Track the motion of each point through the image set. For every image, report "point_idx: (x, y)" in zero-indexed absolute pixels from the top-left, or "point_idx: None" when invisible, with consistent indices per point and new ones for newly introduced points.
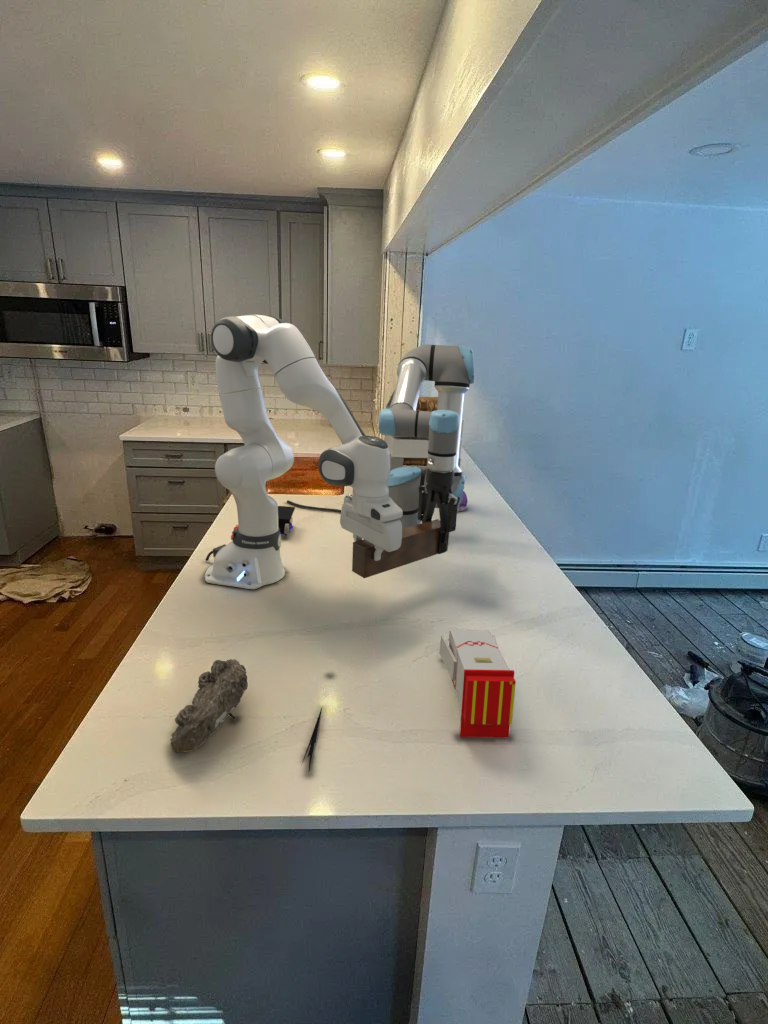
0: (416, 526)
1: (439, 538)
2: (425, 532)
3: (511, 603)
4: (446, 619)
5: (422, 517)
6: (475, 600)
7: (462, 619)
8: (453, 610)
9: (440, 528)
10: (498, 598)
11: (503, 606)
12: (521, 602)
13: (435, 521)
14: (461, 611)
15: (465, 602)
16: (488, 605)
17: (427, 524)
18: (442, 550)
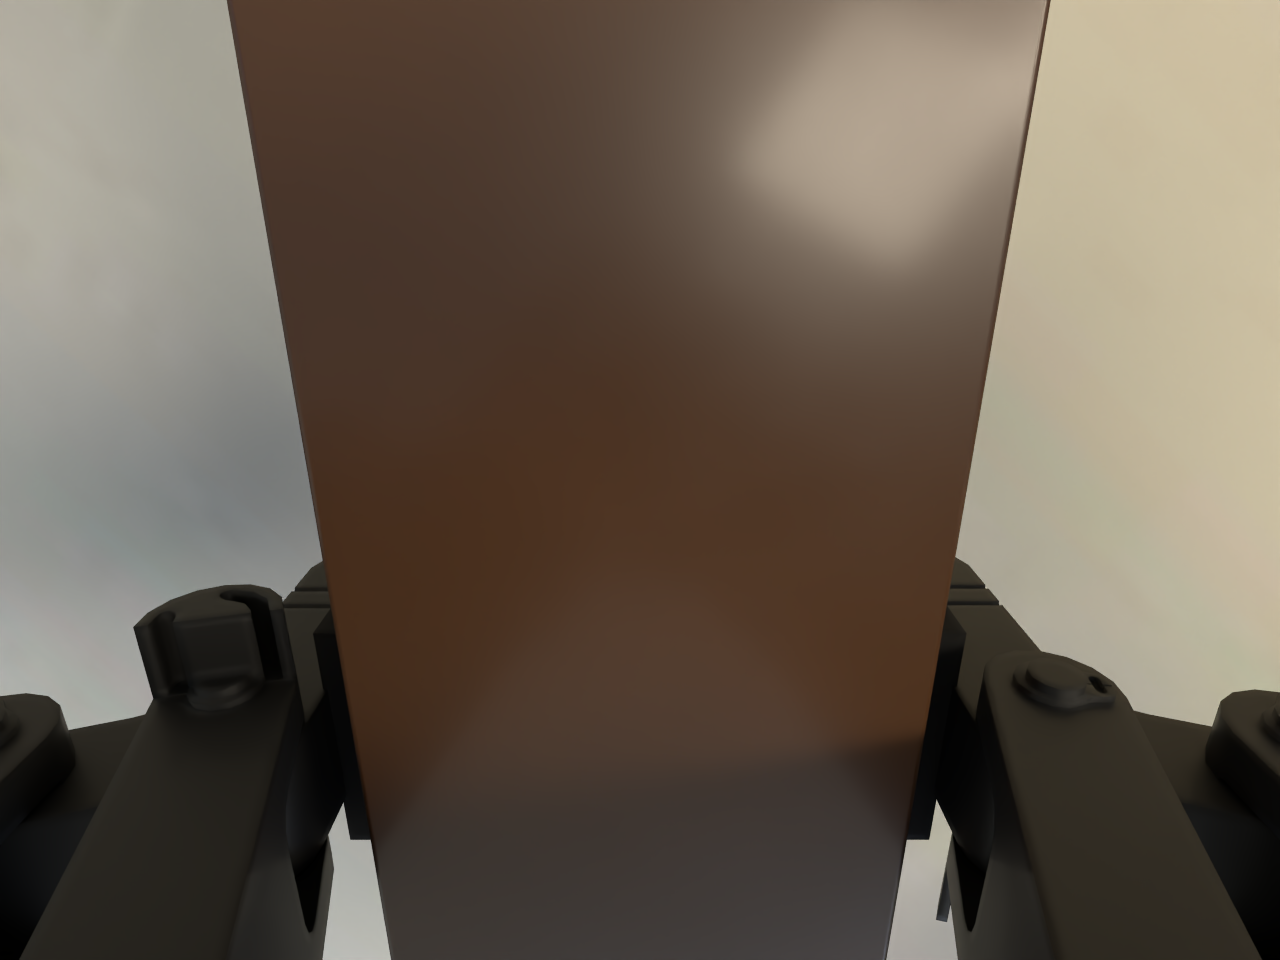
0: (888, 99)
1: None
2: (244, 13)
3: (100, 645)
4: (77, 6)
5: (1220, 814)
6: (254, 475)
7: (24, 140)
8: (192, 195)
9: (369, 730)
10: None
11: (85, 571)
12: (85, 705)
13: (781, 918)
14: (148, 242)
15: (263, 387)
16: (143, 496)
17: (758, 600)
18: None
